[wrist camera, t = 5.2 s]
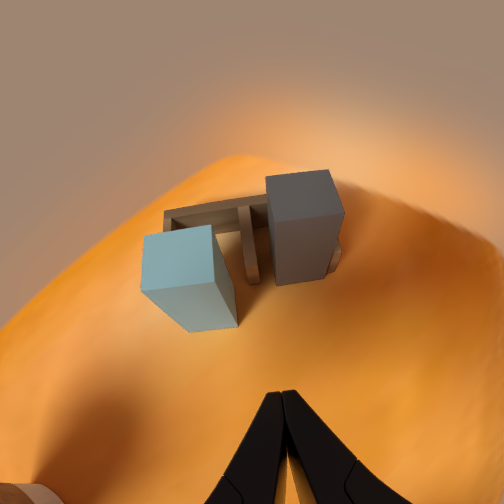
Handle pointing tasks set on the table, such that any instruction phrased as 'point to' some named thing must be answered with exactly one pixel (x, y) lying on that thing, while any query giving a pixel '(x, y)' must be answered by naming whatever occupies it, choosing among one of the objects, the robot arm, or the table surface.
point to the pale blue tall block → (189, 279)
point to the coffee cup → (27, 494)
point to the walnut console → (233, 225)
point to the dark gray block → (302, 224)
